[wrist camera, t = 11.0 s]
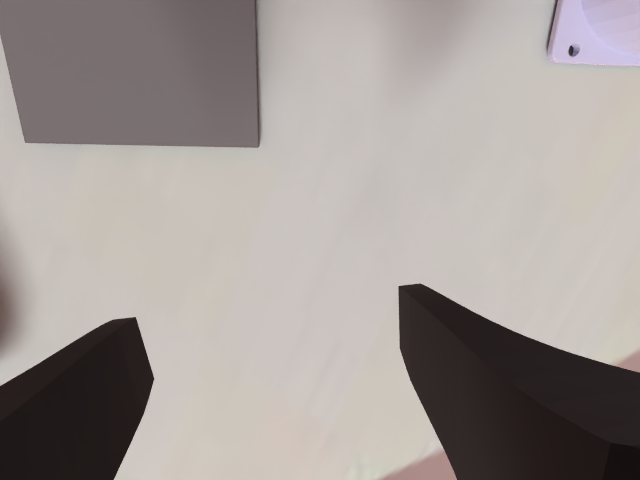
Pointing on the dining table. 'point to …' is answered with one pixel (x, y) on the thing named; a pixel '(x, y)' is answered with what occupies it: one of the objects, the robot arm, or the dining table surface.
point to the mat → (134, 71)
